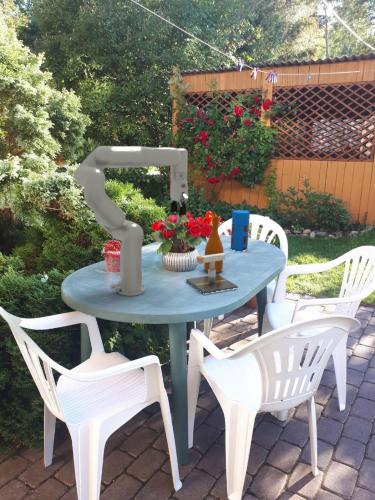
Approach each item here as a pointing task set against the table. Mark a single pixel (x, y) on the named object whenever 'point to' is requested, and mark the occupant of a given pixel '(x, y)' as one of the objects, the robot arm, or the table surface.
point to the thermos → (240, 230)
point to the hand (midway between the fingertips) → (178, 213)
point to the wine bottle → (214, 246)
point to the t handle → (211, 259)
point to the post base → (209, 286)
